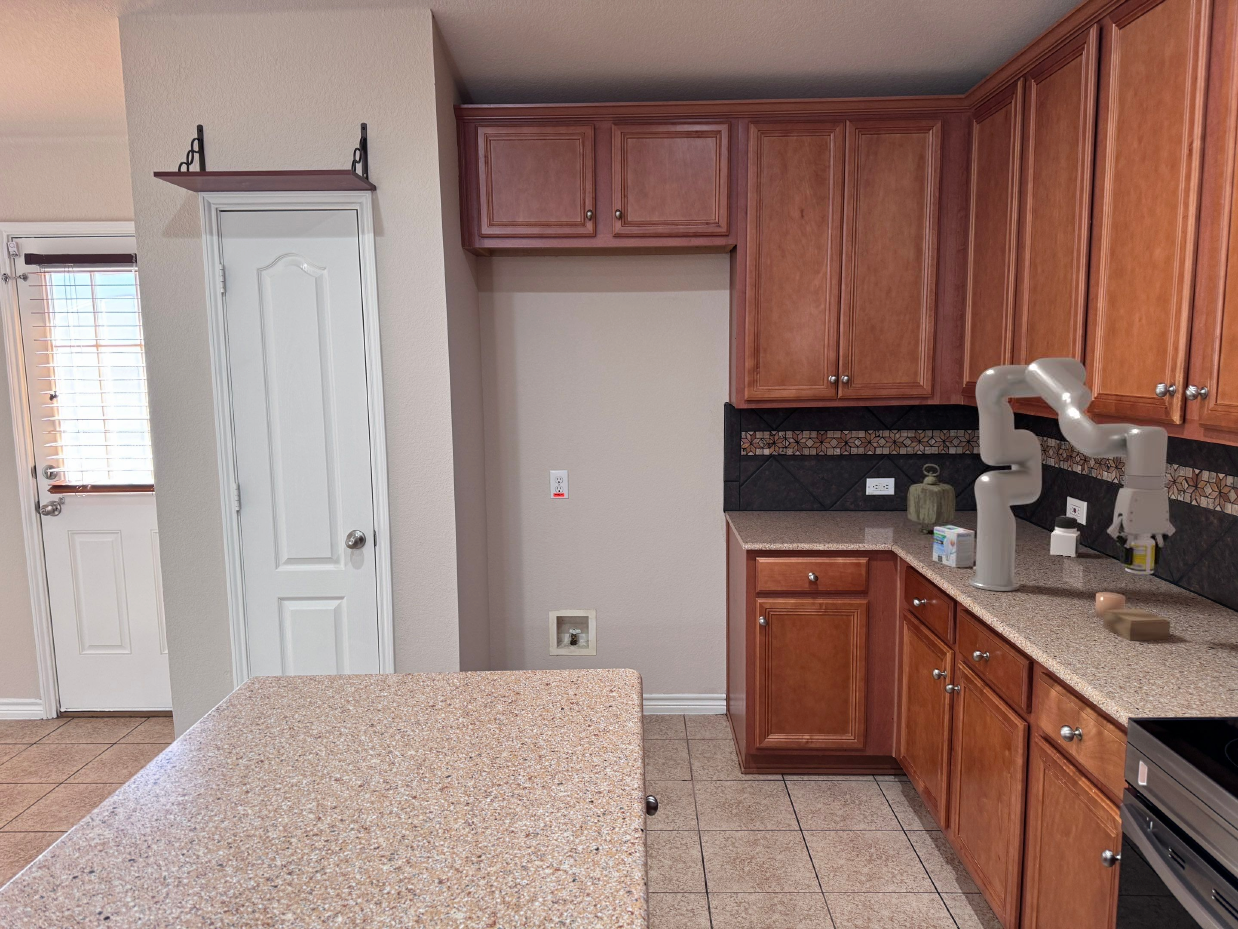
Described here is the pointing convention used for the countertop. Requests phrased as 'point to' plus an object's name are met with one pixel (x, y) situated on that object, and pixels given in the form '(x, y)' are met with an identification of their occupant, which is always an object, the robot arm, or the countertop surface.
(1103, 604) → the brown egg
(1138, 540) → the supplement bottle
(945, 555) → the light bulb box
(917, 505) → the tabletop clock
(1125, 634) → the brown square block
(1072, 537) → the medicine bottle
